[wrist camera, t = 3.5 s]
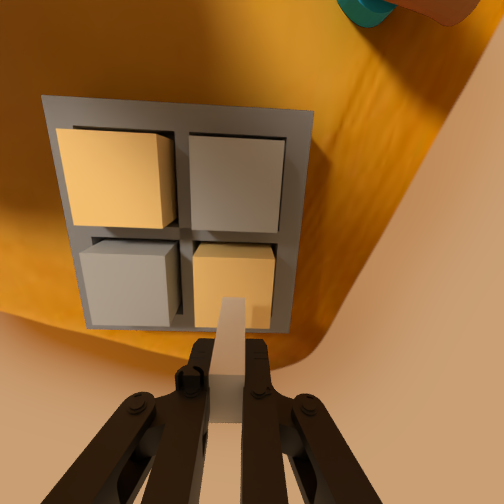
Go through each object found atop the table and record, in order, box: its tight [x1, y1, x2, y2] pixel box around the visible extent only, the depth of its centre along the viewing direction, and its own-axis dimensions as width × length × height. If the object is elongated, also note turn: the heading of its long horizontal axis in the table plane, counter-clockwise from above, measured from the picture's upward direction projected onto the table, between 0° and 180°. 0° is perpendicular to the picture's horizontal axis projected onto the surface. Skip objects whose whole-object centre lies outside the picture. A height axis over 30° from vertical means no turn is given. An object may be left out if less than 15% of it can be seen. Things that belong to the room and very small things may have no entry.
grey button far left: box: [79, 238, 182, 327], centre depth 21 cm, size 6×6×4 cm
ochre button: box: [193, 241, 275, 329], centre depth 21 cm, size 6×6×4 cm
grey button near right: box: [189, 136, 285, 233], centre depth 18 cm, size 6×6×4 cm
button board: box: [41, 95, 314, 333], centre depth 22 cm, size 18×18×4 cm
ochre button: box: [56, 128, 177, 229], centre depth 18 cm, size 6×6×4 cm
